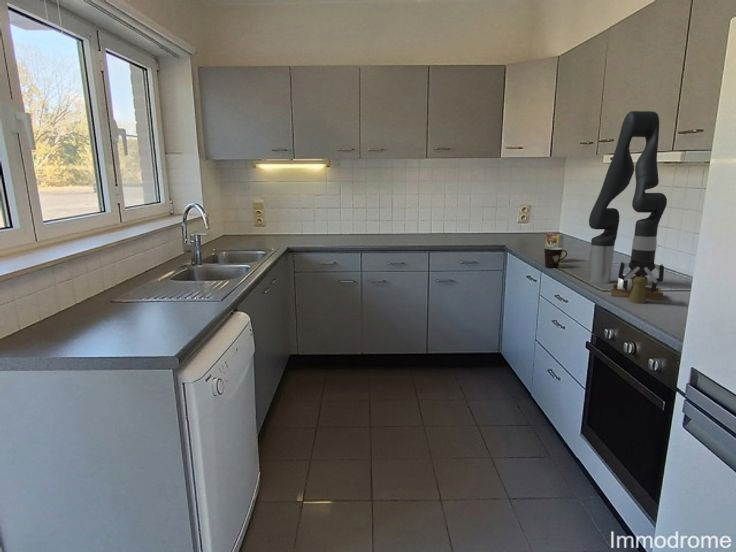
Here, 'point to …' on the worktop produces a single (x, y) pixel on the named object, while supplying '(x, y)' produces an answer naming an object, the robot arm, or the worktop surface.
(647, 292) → the spice caddy
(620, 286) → the salt shaker
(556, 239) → the candy box
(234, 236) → the worktop surface
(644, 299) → the cork
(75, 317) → the worktop surface
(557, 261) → the coffee mug
